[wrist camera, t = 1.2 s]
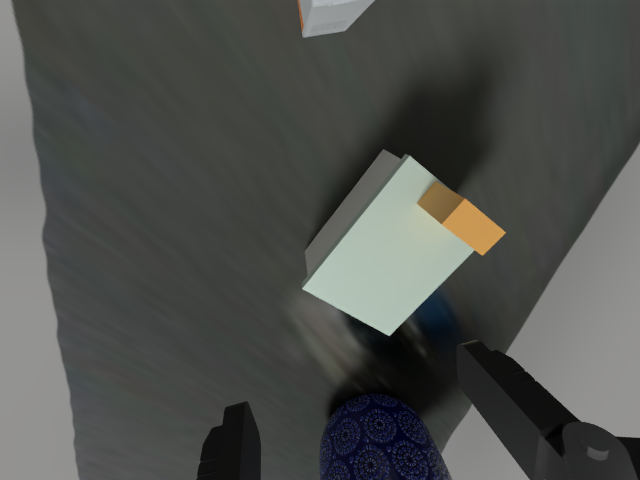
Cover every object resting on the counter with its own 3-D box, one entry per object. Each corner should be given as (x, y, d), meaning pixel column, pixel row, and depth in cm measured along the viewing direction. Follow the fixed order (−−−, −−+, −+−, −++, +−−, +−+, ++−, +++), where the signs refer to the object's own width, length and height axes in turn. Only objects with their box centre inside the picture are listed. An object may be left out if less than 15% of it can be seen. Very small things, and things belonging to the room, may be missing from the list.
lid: (401, 151, 28) (435, 168, 21) (483, 219, 32) (533, 251, 25) (301, 277, 33) (304, 322, 26) (383, 323, 37) (404, 372, 30)
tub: (383, 149, 33) (405, 161, 27) (450, 203, 37) (483, 225, 31) (304, 250, 38) (308, 281, 32) (371, 290, 41) (386, 325, 35)
